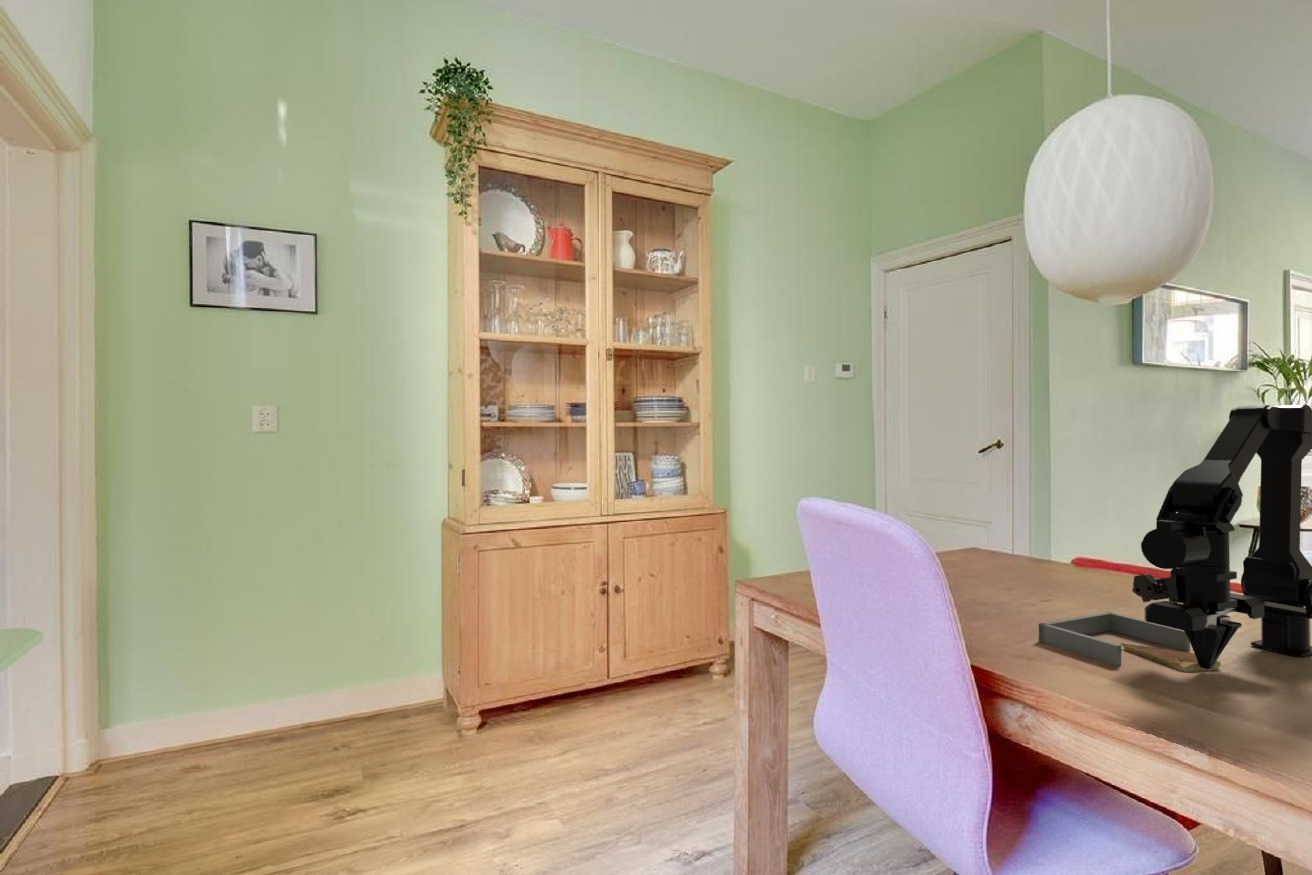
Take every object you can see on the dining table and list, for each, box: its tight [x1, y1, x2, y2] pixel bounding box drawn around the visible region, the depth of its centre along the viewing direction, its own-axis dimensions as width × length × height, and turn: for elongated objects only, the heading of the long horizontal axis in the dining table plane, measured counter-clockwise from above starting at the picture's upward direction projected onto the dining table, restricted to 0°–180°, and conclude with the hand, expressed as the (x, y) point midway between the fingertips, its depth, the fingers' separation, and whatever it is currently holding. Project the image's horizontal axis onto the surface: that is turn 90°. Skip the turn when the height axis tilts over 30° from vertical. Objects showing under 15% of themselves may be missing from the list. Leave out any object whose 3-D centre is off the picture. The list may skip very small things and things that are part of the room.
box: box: [1038, 611, 1191, 666], centre depth 108 cm, size 18×13×3 cm
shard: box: [1120, 643, 1222, 673], centre depth 102 cm, size 11×8×2 cm
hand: (1205, 668), depth 96 cm, fingers closed
